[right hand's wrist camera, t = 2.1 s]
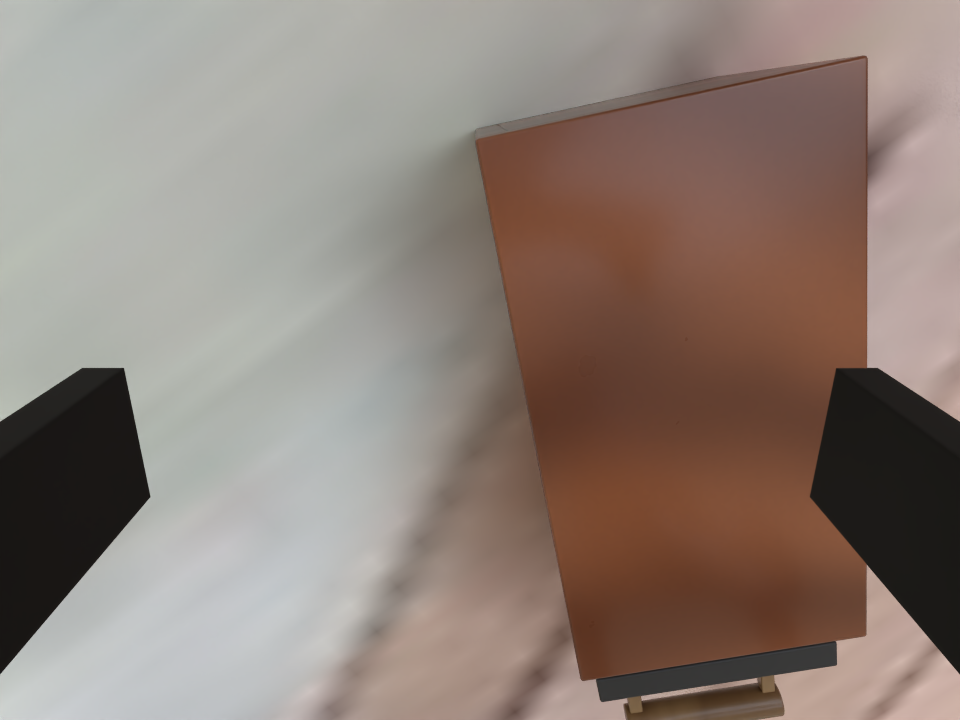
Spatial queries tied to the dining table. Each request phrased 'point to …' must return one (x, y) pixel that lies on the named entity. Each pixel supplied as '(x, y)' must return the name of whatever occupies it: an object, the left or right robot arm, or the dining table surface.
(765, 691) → the drawer
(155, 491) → the dining table surface
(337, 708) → the dining table surface
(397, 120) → the dining table surface
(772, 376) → the cabinet
